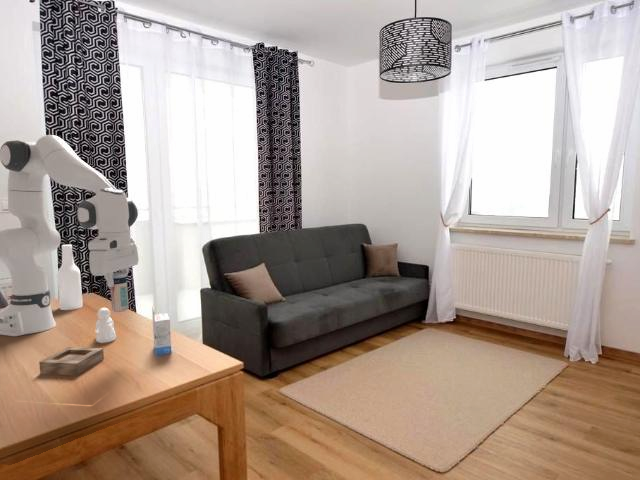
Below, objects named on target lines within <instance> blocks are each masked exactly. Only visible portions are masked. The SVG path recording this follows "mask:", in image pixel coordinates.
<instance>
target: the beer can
mask: <svg viewBox="0 0 640 480" xmlns="http://www.w3.org/2000/svg"><path fill="white" fill-rule="evenodd" d="M112 277H113V280H115V284H116V285H115V286H113V287H110V297H111V299H110V300H111V301H110V302H111V310H112V311H113V312H114V313H123V312H126V311H128V310H129V292H128V291H129V290H128V278H127V277H128V275H127V276H126V274H125V273H124V272H121V271H120V272H118V271H116V272H113V276H112Z"/></svg>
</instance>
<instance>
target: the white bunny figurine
mask: <svg viewBox="0 0 640 480" xmlns="http://www.w3.org/2000/svg"><path fill="white" fill-rule="evenodd" d="M111 313H112V312H111V311H110V310H109V308H107V307H101V308H100V309H99V310H98V312H97V313H96V314H95V315H96V316H97V317H98V318H97V321H96V323H95V329H94V332H95V333H96V334H97V336H96V339H95V340H96V342H97V343H100V344H107V343H111V342H113V341H114V342H115V339H117V333H116V331H115V326H114V325H115V323H114V320H113V319H112V317H110V315H111Z"/></svg>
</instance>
